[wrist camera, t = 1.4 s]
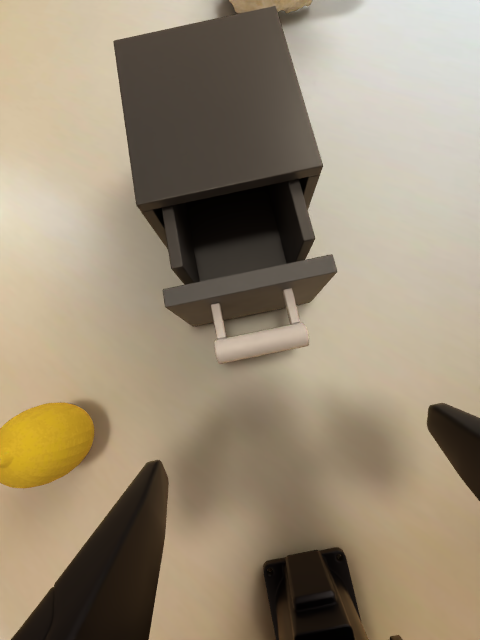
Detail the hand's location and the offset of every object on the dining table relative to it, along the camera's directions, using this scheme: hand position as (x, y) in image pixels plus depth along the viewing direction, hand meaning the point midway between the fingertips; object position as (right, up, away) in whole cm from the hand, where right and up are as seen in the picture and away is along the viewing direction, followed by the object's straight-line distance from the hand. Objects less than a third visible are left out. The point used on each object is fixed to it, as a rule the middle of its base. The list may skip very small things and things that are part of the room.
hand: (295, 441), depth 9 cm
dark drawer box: (-3, +17, +19) cm, 26 cm away
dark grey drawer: (-2, +9, +16) cm, 18 cm away
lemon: (-16, -6, +15) cm, 23 cm away
